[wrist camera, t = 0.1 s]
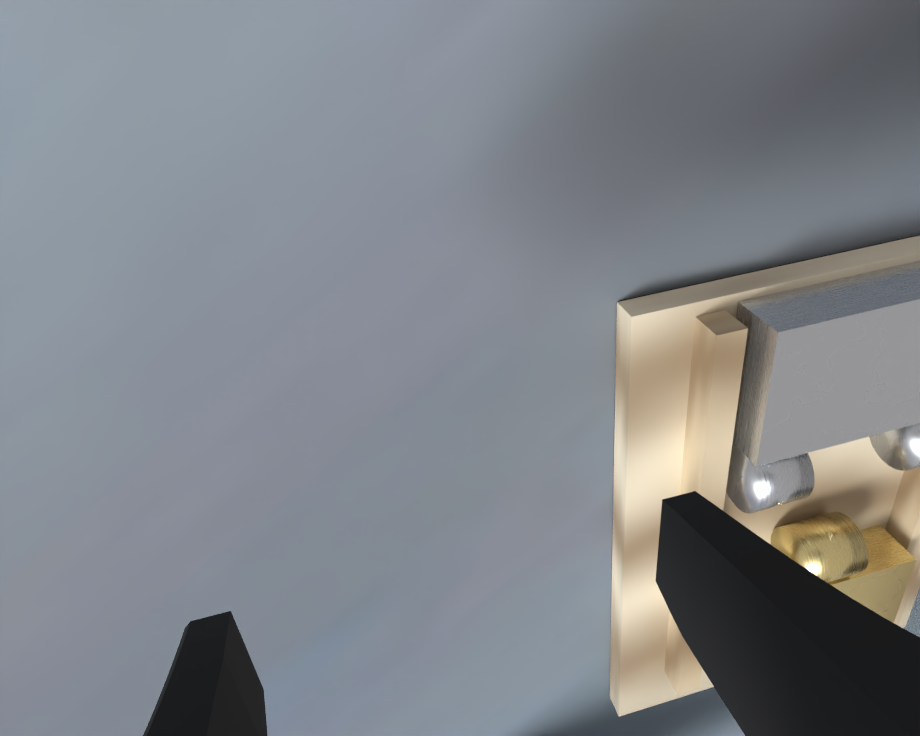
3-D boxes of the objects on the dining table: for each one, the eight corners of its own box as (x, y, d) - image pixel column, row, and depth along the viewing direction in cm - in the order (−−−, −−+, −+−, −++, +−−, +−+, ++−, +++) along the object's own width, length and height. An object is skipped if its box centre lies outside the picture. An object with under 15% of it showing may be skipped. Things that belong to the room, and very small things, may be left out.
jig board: (890, 610, 35) (924, 647, 34) (609, 697, 33) (630, 741, 31) (1030, 210, 24) (1094, 234, 22) (617, 302, 22) (650, 335, 20)
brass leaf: (855, 602, 32) (894, 646, 30) (694, 651, 31) (724, 700, 29) (892, 481, 28) (941, 523, 26) (709, 532, 27) (745, 580, 25)
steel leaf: (908, 430, 27) (960, 470, 25) (715, 481, 26) (754, 528, 24) (963, 250, 23) (1031, 281, 21) (737, 301, 22) (787, 339, 20)
